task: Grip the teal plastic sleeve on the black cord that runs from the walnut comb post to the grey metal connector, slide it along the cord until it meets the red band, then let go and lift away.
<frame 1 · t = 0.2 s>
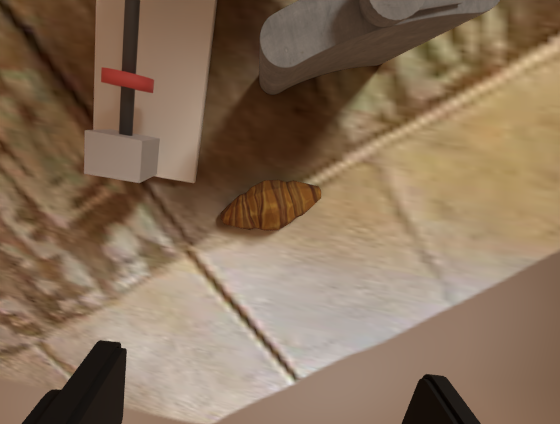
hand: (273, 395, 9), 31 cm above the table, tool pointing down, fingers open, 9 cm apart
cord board: (157, 42, 33), on the table
croissant: (270, 201, 40), on the table
hip flask: (322, 62, 35), on the table
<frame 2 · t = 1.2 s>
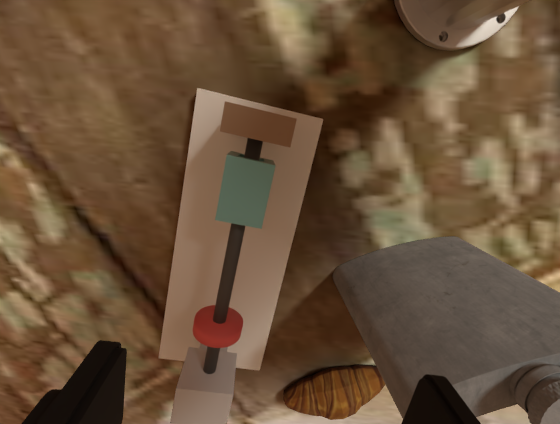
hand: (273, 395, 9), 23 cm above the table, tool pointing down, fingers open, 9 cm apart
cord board: (233, 245, 32), on the table
croissant: (332, 376, 39), on the table
hip flask: (397, 258, 35), on the table
sleeve: (245, 188, 24), point 7 cm above the table, slide at 0.0 cm
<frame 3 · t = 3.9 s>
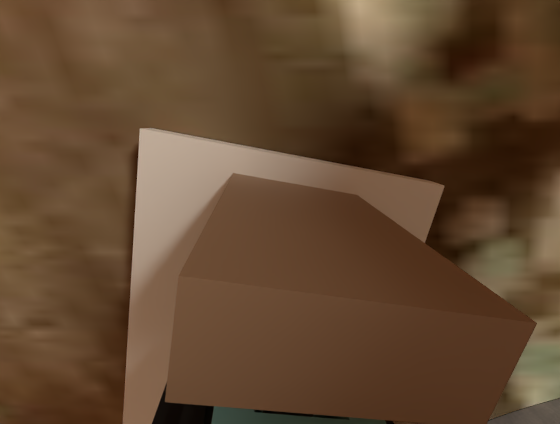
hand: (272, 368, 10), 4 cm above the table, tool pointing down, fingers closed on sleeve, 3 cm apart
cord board: (243, 422, 16), on the table
hip flask: (550, 417, 18), on the table
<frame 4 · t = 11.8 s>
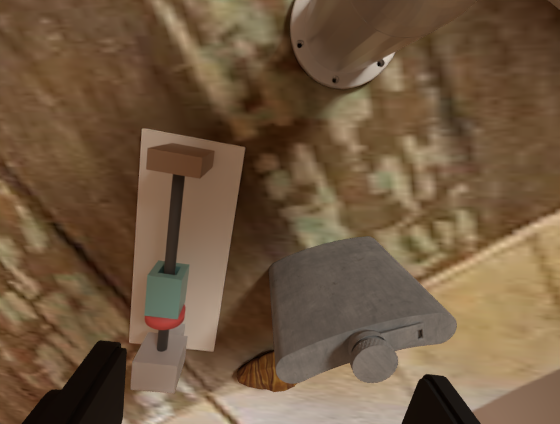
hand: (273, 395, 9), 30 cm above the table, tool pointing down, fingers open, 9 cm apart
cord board: (184, 249, 40), on the table
croissant: (278, 357, 46), on the table
hip flask: (322, 255, 42), on the table
sleeve: (167, 289, 34), point 7 cm above the table, slide at 9.8 cm
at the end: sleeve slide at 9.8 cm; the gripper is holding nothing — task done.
